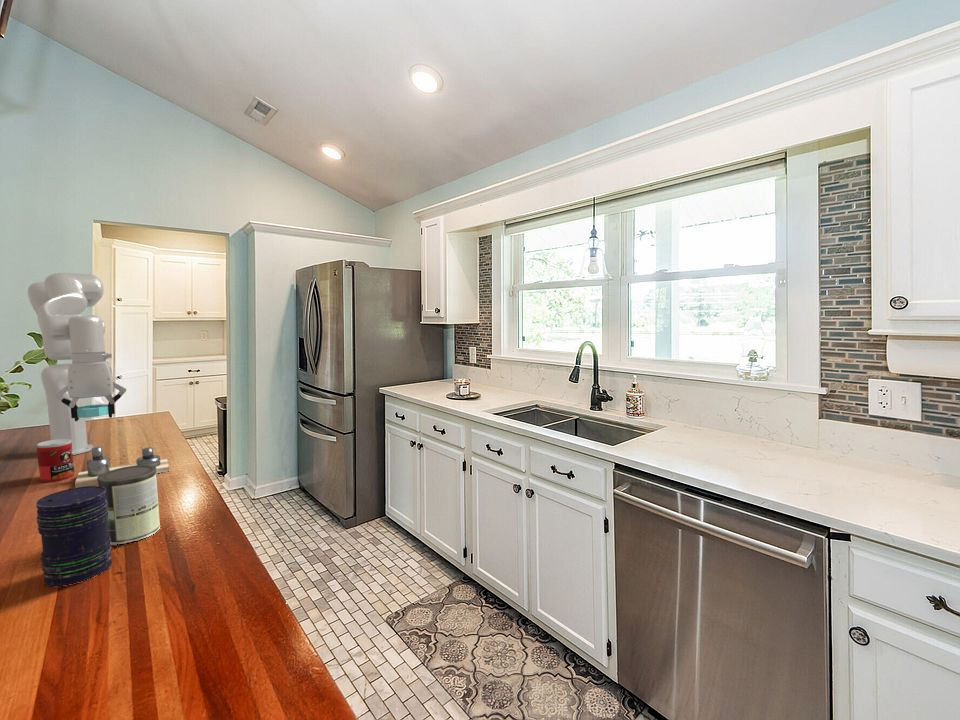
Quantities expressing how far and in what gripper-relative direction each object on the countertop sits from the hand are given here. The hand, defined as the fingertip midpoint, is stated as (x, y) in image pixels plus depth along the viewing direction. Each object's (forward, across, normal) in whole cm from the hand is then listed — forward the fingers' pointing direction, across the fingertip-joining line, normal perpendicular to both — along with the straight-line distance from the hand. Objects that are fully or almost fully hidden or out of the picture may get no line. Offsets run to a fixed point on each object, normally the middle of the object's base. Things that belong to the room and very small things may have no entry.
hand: (94, 418), depth 135 cm
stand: (+17, 0, 0) cm, 17 cm away
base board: (+18, -6, 0) cm, 19 cm away
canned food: (+19, +10, -8) cm, 23 cm away
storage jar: (+18, 0, +64) cm, 66 cm away
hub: (+17, -12, 0) cm, 21 cm away
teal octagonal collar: (-1, 0, 0) cm, 1 cm away
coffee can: (+18, -8, +50) cm, 54 cm away
